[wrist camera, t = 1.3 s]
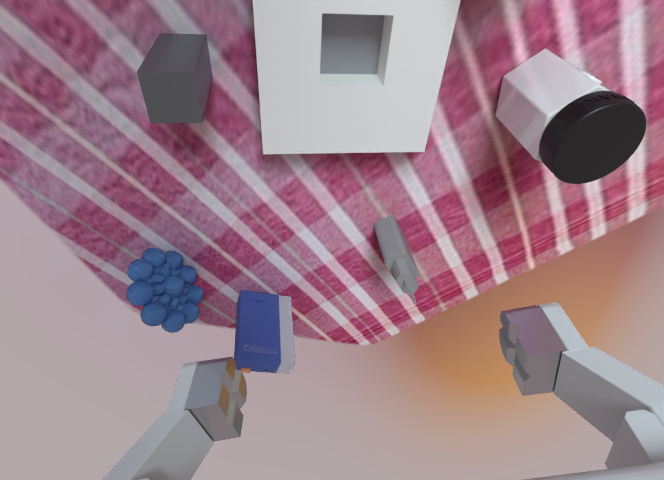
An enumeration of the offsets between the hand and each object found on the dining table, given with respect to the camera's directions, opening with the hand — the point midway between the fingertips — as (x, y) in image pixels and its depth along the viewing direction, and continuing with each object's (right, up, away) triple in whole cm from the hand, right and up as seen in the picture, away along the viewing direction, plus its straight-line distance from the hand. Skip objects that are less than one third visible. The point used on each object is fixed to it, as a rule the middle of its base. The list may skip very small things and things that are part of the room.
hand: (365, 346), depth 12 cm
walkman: (-12, -6, +51) cm, 52 cm away
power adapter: (+7, +5, +44) cm, 45 cm away
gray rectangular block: (-14, +20, +25) cm, 36 cm away
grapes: (-23, +1, +42) cm, 48 cm away
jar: (+21, +20, +32) cm, 43 cm away
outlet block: (+1, +22, +26) cm, 34 cm away
